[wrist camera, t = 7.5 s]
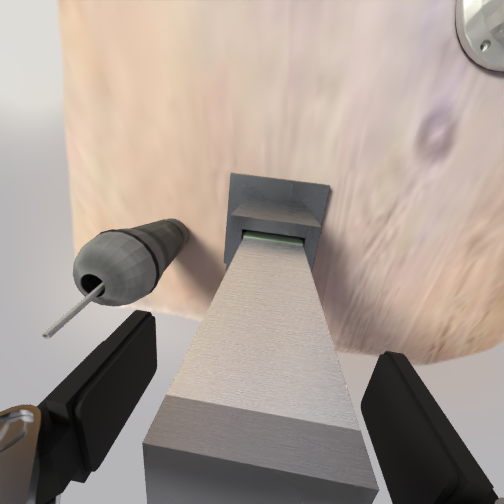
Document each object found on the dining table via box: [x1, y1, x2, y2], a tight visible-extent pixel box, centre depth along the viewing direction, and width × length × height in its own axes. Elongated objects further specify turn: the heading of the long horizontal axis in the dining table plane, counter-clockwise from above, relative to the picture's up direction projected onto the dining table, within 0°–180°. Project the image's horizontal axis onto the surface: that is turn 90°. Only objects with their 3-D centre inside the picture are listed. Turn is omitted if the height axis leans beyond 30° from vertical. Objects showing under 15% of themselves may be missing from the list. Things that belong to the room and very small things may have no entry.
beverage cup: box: [42, 219, 189, 339], centre depth 24 cm, size 7×7×20 cm
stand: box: [224, 173, 330, 272], centre depth 25 cm, size 12×12×13 cm
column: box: [142, 230, 379, 504], centre depth 15 cm, size 4×4×20 cm
